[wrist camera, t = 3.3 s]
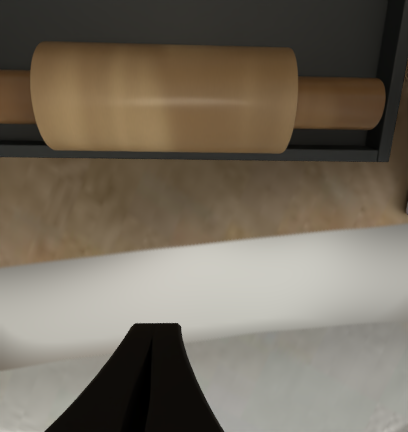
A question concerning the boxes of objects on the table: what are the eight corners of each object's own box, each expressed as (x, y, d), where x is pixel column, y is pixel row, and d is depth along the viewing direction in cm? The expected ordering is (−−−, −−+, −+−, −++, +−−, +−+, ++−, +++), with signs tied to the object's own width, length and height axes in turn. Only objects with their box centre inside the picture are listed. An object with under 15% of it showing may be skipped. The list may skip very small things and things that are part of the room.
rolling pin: (375, 32, 16) (417, 81, 13) (343, 119, 19) (370, 175, 16) (-46, 21, 15) (-104, 70, 12) (-5, 113, 18) (-42, 169, 15)
